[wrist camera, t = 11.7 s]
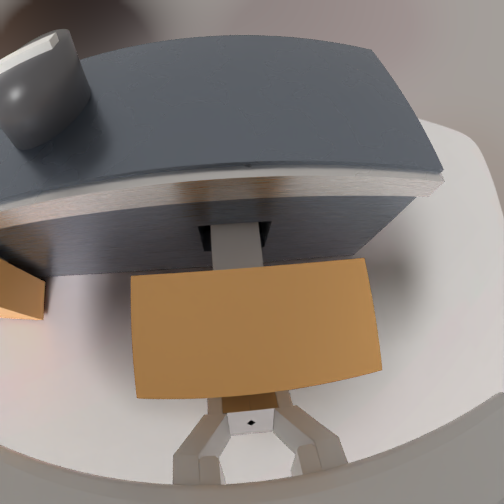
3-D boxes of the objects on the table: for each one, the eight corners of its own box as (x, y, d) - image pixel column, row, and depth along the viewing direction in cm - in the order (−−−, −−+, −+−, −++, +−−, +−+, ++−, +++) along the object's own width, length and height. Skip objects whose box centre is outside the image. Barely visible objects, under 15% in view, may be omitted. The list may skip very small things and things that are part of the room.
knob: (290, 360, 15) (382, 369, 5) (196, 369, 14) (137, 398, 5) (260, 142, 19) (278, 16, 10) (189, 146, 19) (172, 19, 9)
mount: (354, 260, 17) (447, 178, 8) (-30, 284, 14) (-108, 244, 5) (327, 153, 20) (371, 49, 11) (-12, 195, 17) (-69, 137, 8)
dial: (75, 136, 8) (37, 63, 5) (0, 159, 7) (-42, 107, 4) (101, 72, 9) (82, 10, 6) (31, 95, 9) (6, 45, 6)
